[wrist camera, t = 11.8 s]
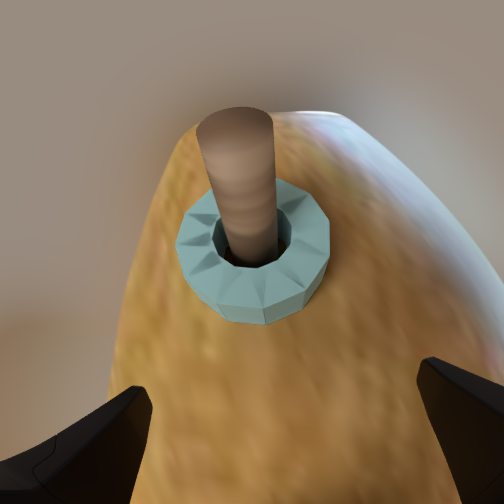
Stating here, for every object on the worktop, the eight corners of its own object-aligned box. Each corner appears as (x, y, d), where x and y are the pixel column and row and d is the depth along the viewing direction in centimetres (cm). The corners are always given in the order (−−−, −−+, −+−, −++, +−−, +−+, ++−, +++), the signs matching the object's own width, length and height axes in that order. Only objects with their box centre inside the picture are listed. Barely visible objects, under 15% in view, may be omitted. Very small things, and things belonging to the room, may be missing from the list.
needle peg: (285, 269, 22) (286, 134, 11) (243, 285, 22) (206, 158, 11) (268, 235, 24) (256, 101, 13) (229, 250, 24) (189, 120, 12)
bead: (319, 329, 19) (328, 313, 16) (179, 314, 21) (160, 295, 18) (322, 211, 25) (327, 181, 21) (208, 205, 26) (198, 176, 23)
